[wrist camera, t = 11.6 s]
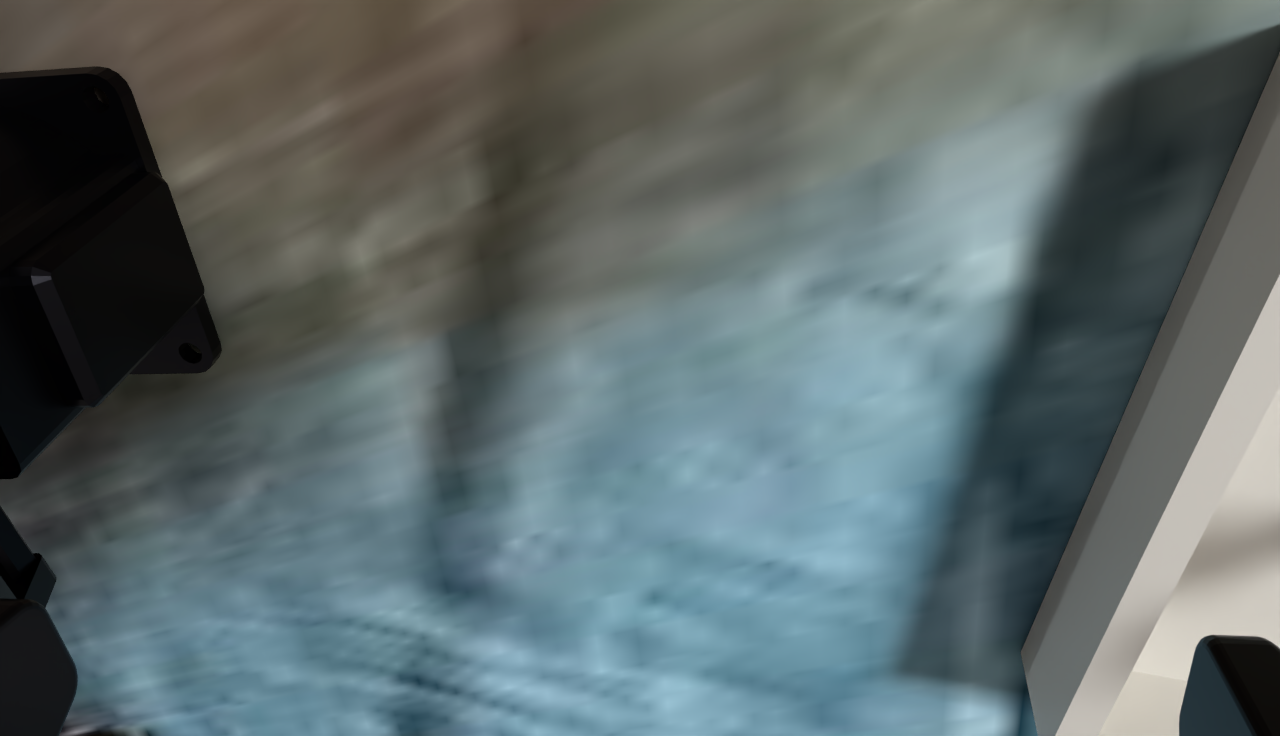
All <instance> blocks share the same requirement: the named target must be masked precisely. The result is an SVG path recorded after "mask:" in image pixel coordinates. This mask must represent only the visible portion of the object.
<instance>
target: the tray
mask: <svg viewBox="0 0 1280 736" xmlns="http://www.w3.org/2000/svg"><path fill="white" fill-rule="evenodd" d="M1209 635H1234V636H1258V637H1262V638H1265V639H1267V640H1269V641H1271V642H1273V643H1274V644H1275V645H1277V646H1278V647H1279V648H1280V53H1279V55H1278V58H1277V60H1276V62H1275V65H1274V67H1273V69H1272V71H1271V74H1270V76H1269V78H1268V81H1267V83H1266V85H1265V88H1264V90H1263V92H1262V95H1261V97H1260V99H1259V102H1258V104H1257V106H1256V109H1255V111H1254V113H1253V115H1252V118H1251V120H1250V122H1249V125H1248V127H1247V129H1246V132H1245V134H1244V136H1243V139H1242V141H1241V143H1240V146H1239V148H1238V150H1237V153H1236V155H1235V157H1234V159H1233V162H1232V164H1231V166H1230V169H1229V171H1228V173H1227V176H1226V178H1225V180H1224V183H1223V185H1222V187H1221V190H1220V192H1219V194H1218V197H1217V199H1216V201H1215V203H1214V206H1213V208H1212V210H1211V213H1210V215H1209V217H1208V220H1207V222H1206V224H1205V227H1204V229H1203V231H1202V234H1201V236H1200V238H1199V240H1198V243H1197V245H1196V247H1195V250H1194V252H1193V254H1192V257H1191V259H1190V261H1189V264H1188V266H1187V268H1186V271H1185V273H1184V275H1183V278H1182V280H1181V282H1180V284H1179V287H1178V289H1177V291H1176V294H1175V296H1174V298H1173V301H1172V303H1171V305H1170V308H1169V310H1168V312H1167V315H1166V317H1165V319H1164V322H1163V324H1162V326H1161V328H1160V331H1159V333H1158V335H1157V338H1156V340H1155V342H1154V345H1153V347H1152V349H1151V352H1150V354H1149V356H1148V359H1147V361H1146V363H1145V366H1144V368H1143V370H1142V372H1141V375H1140V377H1139V379H1138V382H1137V384H1136V386H1135V389H1134V391H1133V393H1132V396H1131V398H1130V400H1129V403H1128V405H1127V407H1126V410H1125V412H1124V414H1123V416H1122V419H1121V421H1120V423H1119V426H1118V428H1117V430H1116V433H1115V435H1114V437H1113V440H1112V442H1111V444H1110V447H1109V449H1108V451H1107V454H1106V456H1105V458H1104V460H1103V463H1102V465H1101V467H1100V470H1099V472H1098V474H1097V477H1096V479H1095V481H1094V484H1093V486H1092V488H1091V491H1090V493H1089V495H1088V497H1087V500H1086V502H1085V504H1084V507H1083V509H1082V511H1081V514H1080V516H1079V518H1078V521H1077V523H1076V525H1075V528H1074V530H1073V532H1072V535H1071V537H1070V539H1069V541H1068V544H1067V546H1066V548H1065V551H1064V553H1063V555H1062V558H1061V560H1060V562H1059V565H1058V567H1057V569H1056V572H1055V574H1054V576H1053V579H1052V581H1051V583H1050V585H1049V588H1048V590H1047V592H1046V595H1045V597H1044V599H1043V602H1042V604H1041V606H1040V609H1039V611H1038V613H1037V616H1036V618H1035V620H1034V623H1033V625H1032V627H1031V629H1030V632H1029V634H1028V636H1027V639H1026V641H1025V643H1024V646H1023V648H1022V650H1021V657H1022V662H1023V666H1024V671H1025V676H1026V681H1027V686H1028V690H1029V695H1030V700H1031V705H1032V709H1033V714H1034V719H1035V724H1036V729H1037V733H1038V736H1179V716H1180V710H1181V706H1182V702H1183V698H1184V693H1185V689H1186V685H1187V681H1188V677H1189V673H1190V668H1191V664H1192V660H1193V656H1194V652H1195V649H1196V646H1197V644H1198V643H1199V641H1200V640H1201V639H1202V638H1203V637H1205V636H1209Z"/></svg>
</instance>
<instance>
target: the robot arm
mask: <svg viewBox="0 0 1280 736" xmlns="http://www.w3.org/2000/svg"><path fill="white" fill-rule="evenodd" d="M94 87H97V88H99V89H100V90H102V91H103V92H104V93H105V94H106V96H107V97H108V99H109V106H108V105H105V104H104V103H102V102H101V101H99V99H98V98H97V96H96V94H95V89H94ZM203 294H204V286H203V283H202V281H201V278H200V275H199V272H198V269H197V266H196V264H195V261H194V258H193V255H192V252H191V249H190V247H189V244H188V241H187V238H186V235H185V232H184V229H183V227H182V224H181V221H180V218H179V215H178V212H177V210H176V207H175V204H174V201H173V198H172V195H171V192H170V190H169V187H168V184H167V183H166V182H165V180H164V179H163V178H162V176H161V173H160V170H159V167H158V164H157V162H156V159H155V156H154V153H153V150H152V147H151V145H150V142H149V139H148V136H147V133H146V130H145V128H144V125H143V122H142V119H141V116H140V113H139V111H138V108H137V105H136V102H135V99H134V96H133V94H132V91H131V89H130V87H129V85H128V84H127V82H126V81H125V80H124V79H123V78H122V77H121V76H120V75H119V74H118V73H117V72H115V71H113V70H111V69H109V68H104V67H85V68H70V69H55V70H40V71H25V72H10V73H0V479H13V478H17V477H19V476H20V475H21V473H22V472H23V471H24V470H25V469H26V468H27V467H28V466H29V465H30V464H31V463H32V462H33V461H34V460H35V459H36V458H37V457H38V456H39V455H40V454H41V453H42V452H43V451H44V450H45V449H46V448H47V447H48V446H49V445H50V444H51V443H52V442H53V441H54V440H55V439H56V438H57V437H58V436H59V435H60V434H61V433H62V432H63V431H64V430H65V428H66V427H67V426H68V425H69V424H70V423H71V422H72V421H73V420H74V419H75V418H76V417H77V416H78V415H79V414H80V413H81V412H82V411H83V410H84V409H85V408H86V407H96V406H98V405H100V404H101V403H102V402H103V401H104V399H105V398H106V397H107V396H108V395H109V394H110V393H111V392H112V391H113V390H114V389H115V388H116V387H117V386H118V385H119V384H120V383H121V382H122V381H123V380H124V379H125V378H126V377H127V376H128V375H129V374H176V373H201V372H205V371H207V370H208V369H209V368H210V367H211V366H212V365H213V364H214V363H215V362H216V360H217V359H218V358H219V357H220V354H221V351H222V349H221V343H220V340H219V337H218V334H217V331H216V329H215V326H214V323H213V320H212V317H211V314H210V312H209V309H208V306H207V303H206V300H205V297H204V295H203ZM188 343H190V344H193V345H195V346H196V347H198V348H199V350H200V351H201V353H197V352H195V351H194V350H192V349H191V348H190V346H189V345H188ZM55 582H56V576H55V574H54V573H53V571H52V570H51V569H50V567H49V566H48V564H47V563H46V561H45V560H44V558H43V557H42V555H40V554H39V553H32V552H31V550H30V549H29V547H28V546H27V544H26V543H25V541H24V540H23V538H22V537H21V535H20V534H19V533H18V531H17V530H16V528H15V527H14V525H13V524H12V522H11V521H10V519H9V518H8V516H7V515H6V514H5V512H4V511H3V509H2V508H1V506H0V736H59V734H60V731H61V729H62V726H63V724H64V722H65V719H66V717H67V715H68V712H69V710H70V707H71V705H72V703H73V700H74V697H75V694H76V690H77V683H78V675H77V669H76V666H75V663H74V661H73V659H72V657H71V655H70V654H69V652H68V650H67V648H66V646H65V644H64V642H63V640H62V638H61V636H60V635H59V633H58V631H57V629H56V627H55V625H54V623H53V621H52V619H51V617H50V615H49V614H48V612H47V610H46V609H45V607H46V605H47V602H48V600H49V597H50V595H51V592H52V590H53V587H54V585H55ZM1179 736H1280V648H1279V647H1278V646H1277V645H1275V644H1274V643H1273V642H1271V641H1269V640H1267V639H1265V638H1262V637H1258V636H1234V635H1209V636H1205V637H1203V638H1202V639H1201V640H1200V641H1199V643H1198V644H1197V646H1196V649H1195V652H1194V656H1193V660H1192V664H1191V668H1190V673H1189V677H1188V681H1187V685H1186V689H1185V693H1184V698H1183V702H1182V706H1181V710H1180V716H1179Z"/></svg>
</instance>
